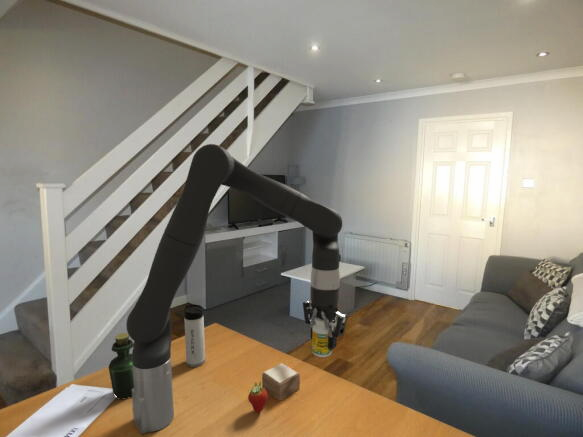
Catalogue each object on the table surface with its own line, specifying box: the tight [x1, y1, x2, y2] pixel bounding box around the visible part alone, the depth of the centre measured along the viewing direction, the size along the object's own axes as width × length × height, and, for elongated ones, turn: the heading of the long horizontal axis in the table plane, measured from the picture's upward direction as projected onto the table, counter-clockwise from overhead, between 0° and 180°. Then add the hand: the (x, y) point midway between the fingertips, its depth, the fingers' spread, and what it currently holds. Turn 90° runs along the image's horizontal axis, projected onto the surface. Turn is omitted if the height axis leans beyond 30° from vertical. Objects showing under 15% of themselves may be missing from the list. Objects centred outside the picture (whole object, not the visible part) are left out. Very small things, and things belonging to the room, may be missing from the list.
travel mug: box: [183, 303, 206, 368], centre depth 117 cm, size 6×7×20 cm
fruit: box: [247, 381, 269, 413], centre depth 94 cm, size 5×5×8 cm
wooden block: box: [261, 362, 301, 402], centre depth 104 cm, size 8×8×5 cm
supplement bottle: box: [311, 318, 333, 358], centre depth 91 cm, size 5×5×10 cm
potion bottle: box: [108, 332, 134, 400], centre depth 101 cm, size 8×8×18 cm
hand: (323, 344), depth 92 cm, fingers closed on supplement bottle, 5 cm apart
